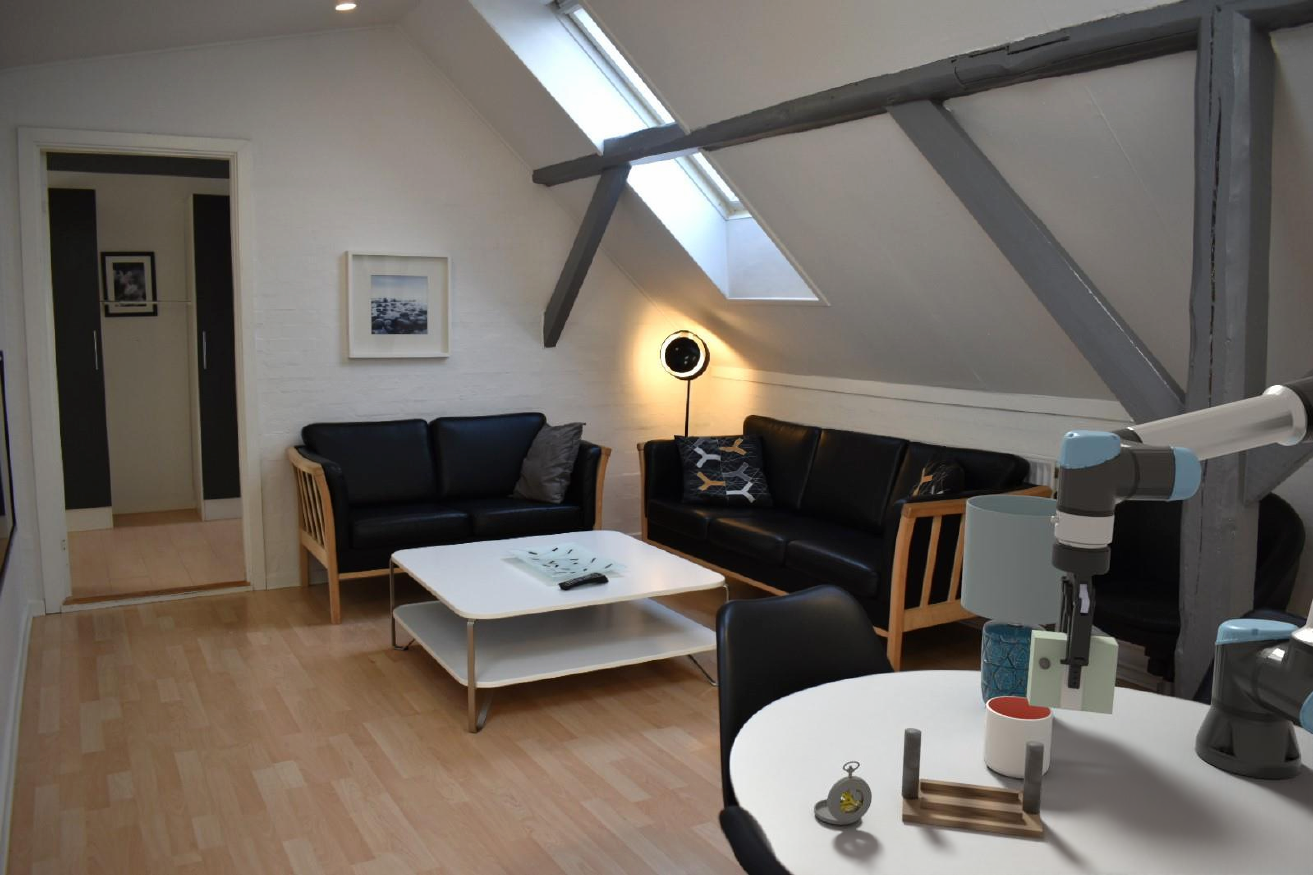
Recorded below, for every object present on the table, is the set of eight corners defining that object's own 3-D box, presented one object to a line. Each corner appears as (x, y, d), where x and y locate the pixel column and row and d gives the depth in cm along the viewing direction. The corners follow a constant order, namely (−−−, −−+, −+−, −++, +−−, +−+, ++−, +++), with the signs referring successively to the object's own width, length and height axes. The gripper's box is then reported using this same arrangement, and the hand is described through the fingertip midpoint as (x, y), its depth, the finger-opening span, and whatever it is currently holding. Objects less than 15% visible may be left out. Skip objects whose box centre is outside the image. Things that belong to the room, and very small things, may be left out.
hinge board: (1034, 798, 159) (1039, 728, 158) (1043, 838, 148) (1048, 763, 146) (901, 783, 164) (905, 714, 162) (900, 820, 152) (904, 747, 151)
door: (1107, 705, 152) (1113, 637, 151) (1113, 716, 148) (1119, 647, 146) (1026, 696, 154) (1032, 629, 153) (1030, 707, 150) (1035, 639, 149)
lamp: (970, 727, 185) (982, 514, 180) (944, 686, 204) (955, 493, 199) (1082, 730, 184) (1097, 517, 179) (1046, 689, 204) (1059, 495, 198)
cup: (1053, 784, 164) (1057, 722, 163) (985, 778, 166) (989, 716, 165) (1043, 757, 174) (1047, 698, 172) (979, 751, 176) (983, 693, 174)
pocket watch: (828, 800, 158) (831, 736, 157) (879, 818, 153) (882, 752, 151) (799, 820, 152) (801, 754, 150) (851, 840, 146) (854, 771, 145)
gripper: (1045, 527, 157) (1033, 679, 160) (1062, 553, 141) (1047, 721, 144) (1100, 531, 155) (1086, 685, 159) (1122, 557, 139) (1106, 728, 143)
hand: (1068, 702), depth 151 cm, fingers closed on door, 3 cm apart
